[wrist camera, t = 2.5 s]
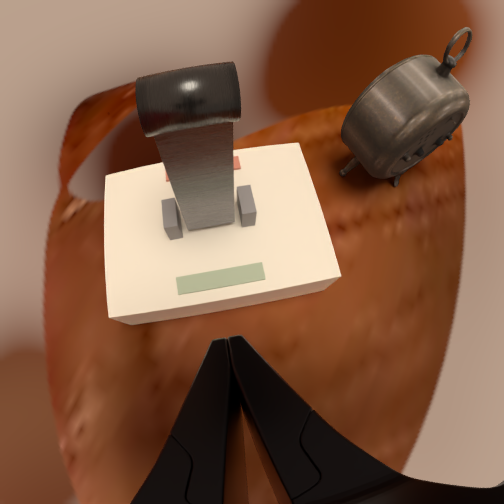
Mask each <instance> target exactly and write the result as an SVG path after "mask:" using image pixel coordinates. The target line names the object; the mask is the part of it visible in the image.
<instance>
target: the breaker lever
mask: <svg viewBox="0 0 504 504" xmlns="http://www.w3.org/2000/svg"><path fill="white" fill-rule="evenodd" d="M136 103H137V110H138V115H139V119H140V123H141V126H142V129H143V132H144V134H145V135H146V137H150V136H154V138H155V141H156V144H157V147H158V150H159V152H160V155H161V158H162V161H163V164H164V167H165V170H166V172H167V175H168V178H169V181H170V184H171V186H172V189H173V192H174V195H175V197H176V200H177V203H178V205H179V208H180V211H181V214H182V216H183V219H184V221H185V224H186V227H187V229H188V230H193V229H198V228H204V227H210V226H215V225H221V224H227V223H233V222H235V210H234V162H233V122H235V121H240V118H241V101H240V89H239V82H238V76H237V71H236V67H235V64H234V62H223V63H215V64H207V65H200V66H195V67H188V68H182V69H176V70H171V71H166V72H161V73H156V74H152V75H147V76H143V77H139V78H137V80H136Z"/></svg>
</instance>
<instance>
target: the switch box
mask: <svg viewBox="0 0 504 504" xmlns="http://www.w3.org/2000/svg"><path fill="white" fill-rule="evenodd" d="M233 162H234V210H235V222H233V223H227V224H221V225H215V226H210V227H204V228H198V229H193V230H188V229H187V227H186V224H185V221H184V219H183V216H182V214H181V211H180V208H179V205H178V203H177V200H176V197H175V195H174V192H173V189H172V186H171V184H170V181H169V178H168V175H167V172H166V170H165V167H164V164H163V163H158V164H153V165H149V166H144V167H140V168H135V169H131V170H127V171H123V172H119V173H114V174H110V175H107V176H106V181H105V182H106V183H105V207H104V250H105V275H106V291H107V304H108V314H109V318H111V319H114V320H117V321H120V322H123V323H126V324H129V325H135V324H142V323H149V322H156V321H163V320H169V319H176V318H182V317H188V316H194V315H200V314H206V313H212V312H218V311H223V310H229V309H234V308H240V307H245V306H250V305H256V304H261V303H266V302H271V301H276V300H281V299H286V298H290V297H295V296H300V295H305V294H309V293H314V292H318V291H323V290H325V289H326V288H327V287H328V286H330V285H331V284H332V283H333V282H335V281H336V280H337V279H338V278H340V277H341V274H340V270H339V266H338V263H337V259H336V256H335V252H334V249H333V245H332V242H331V239H330V235H329V232H328V229H327V226H326V222H325V219H324V216H323V213H322V210H321V207H320V204H319V200H318V197H317V194H316V191H315V188H314V185H313V183H312V180H311V177H310V174H309V171H308V168H307V165H306V162H305V160H304V157H303V154H302V151H301V149H300V146H299V143H290V144H280V145H271V146H262V147H254V148H246V149H239V150H233Z"/></svg>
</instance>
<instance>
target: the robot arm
mask: <svg viewBox="0 0 504 504" xmlns="http://www.w3.org/2000/svg"><path fill="white" fill-rule="evenodd" d="M227 340H228V341H227ZM240 403H241V404H240ZM241 407H242V409H241ZM242 410H243V413H244V416H245V419H246V422H247V425H248V427H249V430H250V433H251V435H252V438H253V441H254V443H255V446H256V449H257V451H258V454H259V456H260V459H261V461H262V464H263V467H264V469H265V472H266V474H267V476H268V479H269V481H270V484H271V486H272V489H273V491H274V493H275V496H276V498H277V501H278V503H279V504H504V481H503V482H501V483H500V484H499V485H497V486H496V487H492V488H474V487H465V486H456V485H449V484H441V483H435V482H429V481H423V480H419V479H414V478H411V477H408V476H405V475H403V474H401V473H399V472H397V471H395V470H393V469H391V468H390V467H388V466H386V465H385V464H383V463H382V462H380V461H379V460H377V459H376V458H374V457H373V456H371V455H369V454H368V453H367V452H365V451H364V450H362V449H361V448H359V447H358V446H356V445H355V444H353V443H352V442H351V441H349V440H348V439H347V438H345V437H344V436H343V435H341V434H340V433H339V432H337V431H336V430H335V429H334V428H333V427H332V426H330V425H329V424H328V423H327V422H326V421H325V420H324V419H323V418H322V417H321V416H320V415H319V414H318V413H317V412H316V411H315V410H312V408H311V407H310V406H309V405H308V404H307V403H306V402H305V401H304V400H303V399H302V398H301V397H300V396H299V395H298V394H297V393H296V392H295V391H294V390H293V389H292V388H291V386H290V385H289V384H288V383H287V382H286V381H285V380H284V379H283V378H282V377H281V376H280V375H279V374H278V373H277V372H276V371H275V370H274V369H273V368H272V367H271V366H270V365H269V364H268V362H267V361H266V360H265V359H264V358H263V357H262V356H261V355H260V354H259V353H258V352H257V351H256V350H255V348H254V347H253V346H252V345H251V344H250V343H249V342H248V341H247V340H246V339H245V338H244V336H242V335H236V336H230V337H228V339H226V338H219V339H214V340H212V341H211V343H210V345H209V348H208V350H207V352H206V354H205V356H204V359H203V361H202V363H201V365H200V367H199V370H198V372H197V374H196V376H195V379H194V381H193V383H192V385H191V387H190V390H189V392H188V394H187V396H186V398H185V401H184V403H183V405H182V407H181V410H180V412H179V414H178V416H177V418H176V421H175V423H174V425H173V427H172V430H171V432H170V434H171V435H169V436H168V438H167V440H166V443H165V445H164V447H163V449H162V451H161V453H160V455H159V457H158V459H157V461H156V463H155V465H154V466H153V468H152V470H151V471H150V473H149V475H148V476H147V478H146V480H145V481H144V483H143V484H142V486H141V487H140V489H139V491H138V492H137V494H136V495H135V497H134V498H133V500H132V501H131V503H130V504H249V503H248V491H247V478H246V464H245V451H244V436H243V421H242Z"/></svg>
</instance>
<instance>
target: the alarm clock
mask: <svg viewBox="0 0 504 504" xmlns="http://www.w3.org/2000/svg"><path fill="white" fill-rule="evenodd" d="M465 32H468V37H467V41H466V43H465V46H464V48H463V49H462V50H461V52H460V53H459V54H458V55H457V56H456V57H455V58H453V57H452V56H450V55H449V52H450V50H451V48H452V46H453V45H454V44H455V42H456V41H457V40H458V39H459V37H460V36H461V35H463V34H464V33H465ZM471 40H472V31H471V29H470V28H467V27H465V28H463V29H461V30H459V31H458V32H457V33H456V34H455V35H454V36H453V38H452V39H451V41H450V42H449V44H448V45H447V48H446V50H445V53H444V57H443V62H442V64H440V63H439V62H438V61H437V59H436V58H434V57H433V56H429V55H417V56H412V57H410V58H407V59H404V60H402V61H400V62H399V63H397V64H395V65H393V66H392V67H390V68H388V69H387V70H385V71H384V72H383V73H382V74H380V75H379V76H378V77H377V78H376V79H375V80H374V81H373V82H372V83H370V84H369V86H368V87H367V88H366V89H365V90H364V91H363V92H362V93H361V94H360V96H359V97H358V98H357V100H356V101H355V102H354V104H353V105H352V107H351V108H350V109H349V111H348V113H347V115H346V117H345V119H344V122H343V125H342V129H341V138H342V141H343V142H344V143H345V144H346V145H347V146H348V147H349V149H350V150H351V151H352V152H353V154H354V155H355V157H354V158H353V159H352V160H351V161H350V162H349V163H348V164H347V166H346V167H345V168H344V169H342V170H340V172H339V174H340V175H341V176H345V175H346V174H347V172H349V171H350V170H352V169H353V168H355V167H356V166H357V165H359V164H360V163H361V164H362V165H363V167H364V168H365V169H366V171H367V172H368V173H369V174H370V175H371V176H372V177H375V178H379V179H386V178H390V177H393V176H395V179H394V186H395V187H396V186H397V185H398V183H399V178H400V176H401V174H403V173H404V172H406V171H407V170H408V169H409V168H411V167H412V166H414V165H415V164H417V163H418V162H420V161H421V160H422V159H424V158H425V157H426V156H428V155H429V154H430V153H432V152H433V151H434V150H435V149H436V148H437V147H439V146H440V145H442V144H443V143H444V141H445V140H446V139H448V140H449V141H450V140H451V139H452V137H453V136H452V135H451V134H452V133H453V132H454V131H455V130H456V129H457V128H458V126H459V125H460V124H461V123H462V121H463V120H464V118H465V116H466V115H467V112H468V110H469V105H470V100H469V95H468V93H467V91H466V90H465V89H464V87H463V86H462V85H461V84H460V83H459V82H458V81H457V80H456V79H455V78H454V77H453V76H452V75H451V74H450V71H451V69H452V68H454V67H455V66H456V64H457V63H456V61H457V60H459V59H460V58H461V57H462V56H463V55H464V53H465V52H466V50H467V48H468V47H469V44H470V42H471Z"/></svg>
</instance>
